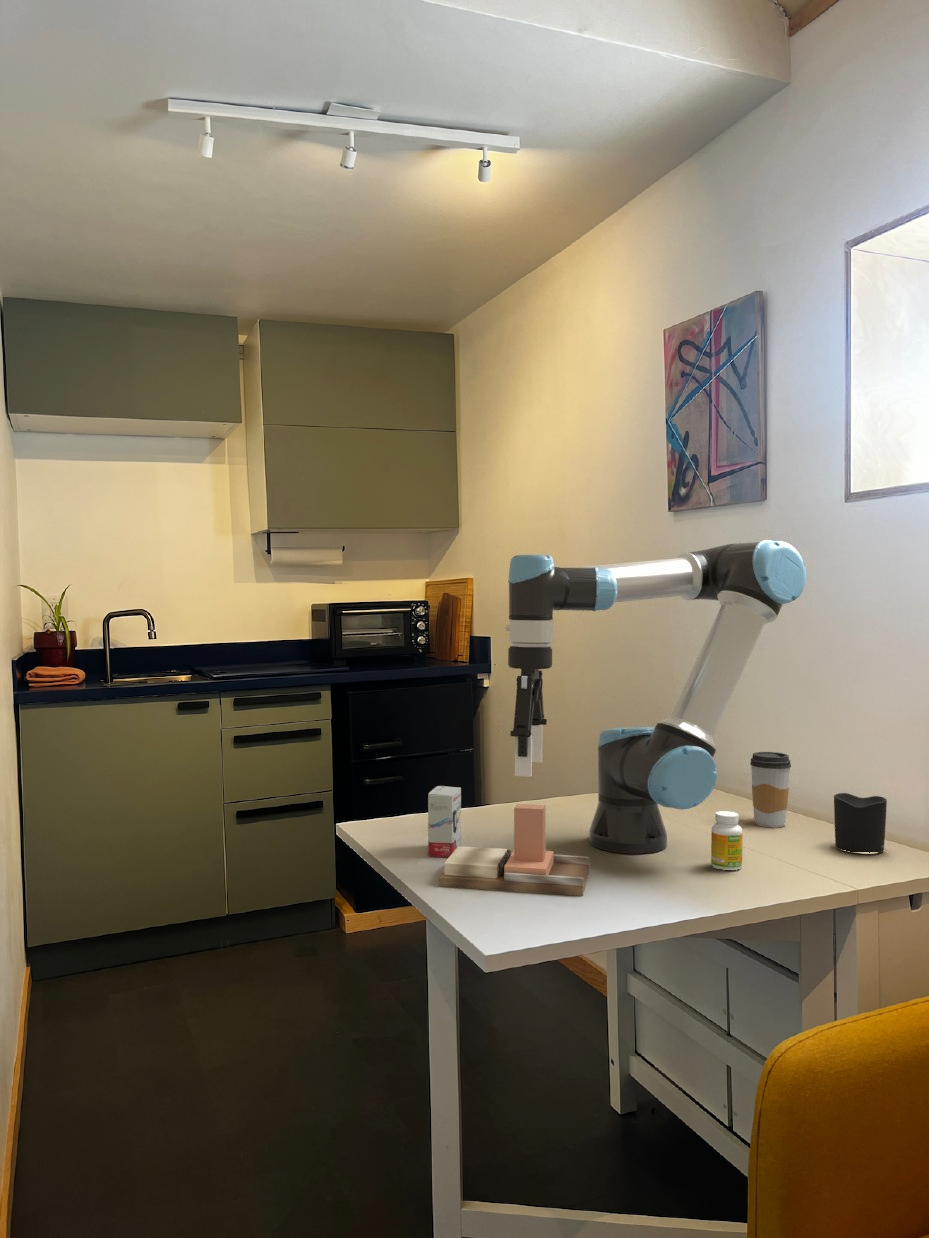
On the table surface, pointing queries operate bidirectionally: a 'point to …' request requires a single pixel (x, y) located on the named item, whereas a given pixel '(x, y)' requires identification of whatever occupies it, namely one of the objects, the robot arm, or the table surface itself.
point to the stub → (529, 842)
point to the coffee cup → (770, 788)
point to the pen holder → (859, 823)
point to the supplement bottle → (726, 842)
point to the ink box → (444, 821)
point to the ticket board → (488, 873)
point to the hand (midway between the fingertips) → (529, 768)
